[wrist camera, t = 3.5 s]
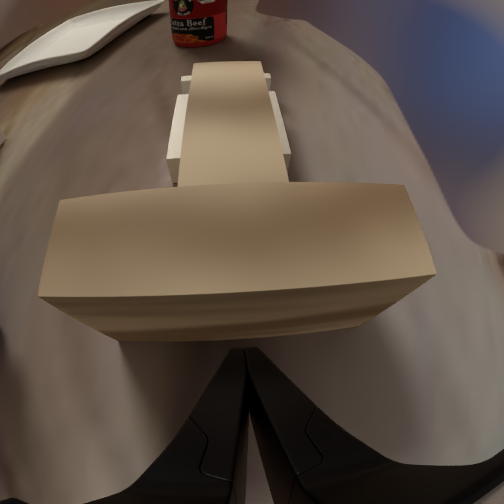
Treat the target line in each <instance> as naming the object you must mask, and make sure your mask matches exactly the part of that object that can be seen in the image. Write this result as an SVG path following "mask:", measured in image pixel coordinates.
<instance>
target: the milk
mask: <svg viewBox="0 0 504 504" xmlns="http://www.w3.org/2000/svg"><path fill="white" fill-rule="evenodd" d="M6 139H7V138H6V137H5V135H4V134H3V132H2V131H1V129H0V145H1V144H2V143H3V142H4V141H5V140H6Z"/></svg>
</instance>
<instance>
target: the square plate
mask: <svg viewBox="0 0 504 504" xmlns="http://www.w3.org/2000/svg"><path fill="white" fill-rule="evenodd" d="M164 1H165V0H156V1H147V2H139V3H132V4H125V5H119V6H114V7H110V8H105V9H101V10H97V11H94V12H90V13H87V14H84V15H81V16H78V17H75V18H72V19H70V20H68V21H66V22H64V23H63V24H61V25H59V26H58V27H56V28H54V29H53V30H51V31H49V32H48V33H46V34H45V35H43V36H41V37H40V38H39V39H37V40H36V41H34V42H33V43H31V44H30V45H29V46H27V47H26V48H25V49H24V50H22V51H21V52H20V53H19V54H17V55H16V56H15V57H14V58H13V59H12V60H11V61H9V62H8V63H7V64H6V65H5V66H4V67H3V68H2V69H1V70H0V80H4V79H9V78H13V77H16V76H19V75H22V74H26V73H30V72H33V71H37V70H41V69H44V68H48V67H53V66H57V65H62V64H67V63H71V62H75V61H78V60H82V59H85V58H87V57H89V56H91V55H92V54H93V53H95V52H97V51H98V50H100V49H101V48H103V47H104V46H105V45H107V44H108V43H109V42H111V41H112V40H113V39H115V38H116V37H117V36H119V35H120V34H122V33H123V32H124V31H126V30H127V29H129V28H130V27H132V26H133V25H135V24H136V23H138V22H139V21H140V20H142V19H143V18H145V17H146V16H148V15H150V14H151V13H153V12H154V11H156V10H157V9H158V8H159V7H160V6H161V5H162V3H163V2H164Z"/></svg>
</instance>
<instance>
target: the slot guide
mask: <svg viewBox="0 0 504 504" xmlns="http://www.w3.org/2000/svg"><path fill="white" fill-rule="evenodd" d="M264 76H265V80H266V84H267V88H268V92H269V96H270V100H271V104H272V108H273V112H274V116H275V120H276V125H277V129H278V133H279V138H280V142H281V147H282V151H283V156H284V160H285V165H286V170H287V172H288V167H289V162H290V157H291V151H290V147H289V143H288V139H287V135H286V131H285V127H284V123H283V119H282V116H281V112H280V108H279V105H278V101H277V97H276V94H275V91H270V83H271V76H270V73H264ZM191 77H192V76H182V78H181V87H182V95H178V96H177V101H176V106H175V111H174V117H173V122H172V128H171V133H170V139H169V145H168V152H167V158H166V160H167V164H168V168H169V172H170V176H171V180H172V183H178V175H179V165H180V156H181V147H182V138H183V130H184V123H185V115H186V108H187V102H188V95H189V89H190V83H191Z"/></svg>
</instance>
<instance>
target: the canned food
mask: <svg viewBox="0 0 504 504" xmlns="http://www.w3.org/2000/svg"><path fill="white" fill-rule="evenodd" d="M169 9H170V20H171V29H172V38H173V40H174V42H175V44H176V45H178V46H181V47H203V46H208V45H212V44H216V43H218V42H220V41H222V40H223V39H224V38H225V36H226V33H227V0H169Z"/></svg>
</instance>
